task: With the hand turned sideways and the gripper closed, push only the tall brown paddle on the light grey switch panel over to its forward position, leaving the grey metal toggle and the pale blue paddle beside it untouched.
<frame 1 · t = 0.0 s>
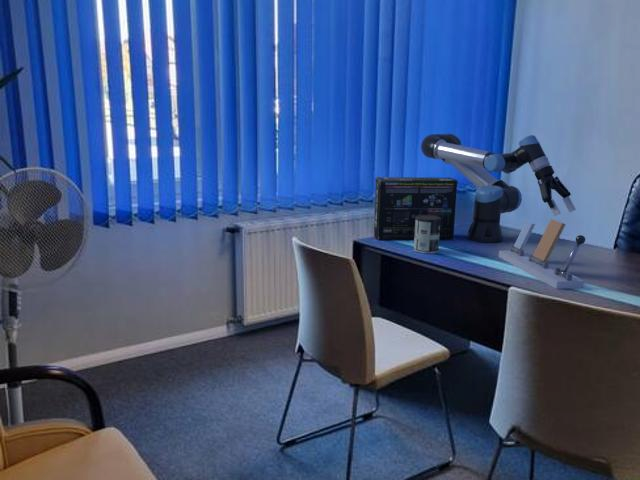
hand: (565, 212, 234), 15 cm above the table, tool tilted 35°, fingers open, 13 cm apart
pale blue paddle: (523, 237, 217), point 9 cm above the table, hinge at -22.0°
coffee can: (425, 250, 229), on the table
brown paddle: (547, 242, 202), point 11 cm above the table, hinge at -22.0°
router box: (412, 237, 250), on the table
grey metal toggle: (572, 255, 188), point 10 cm above the table, hinge at -22.0°
switch panel: (537, 270, 204), on the table
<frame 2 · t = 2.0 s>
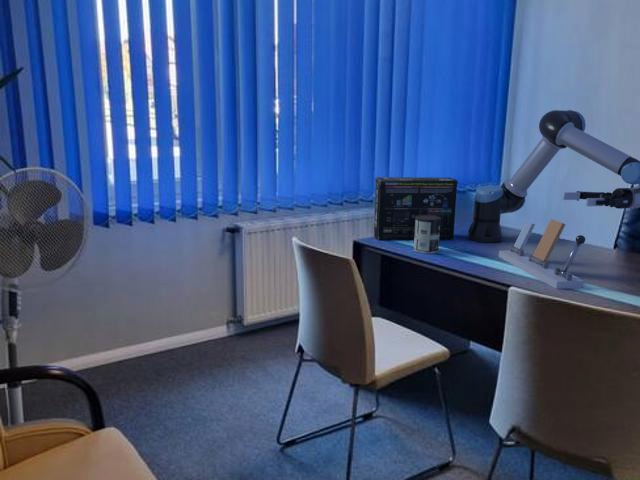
hand: (574, 199, 200), 27 cm above the table, tool horizontal, fingers open, 13 cm apart
nothing on the table moved.
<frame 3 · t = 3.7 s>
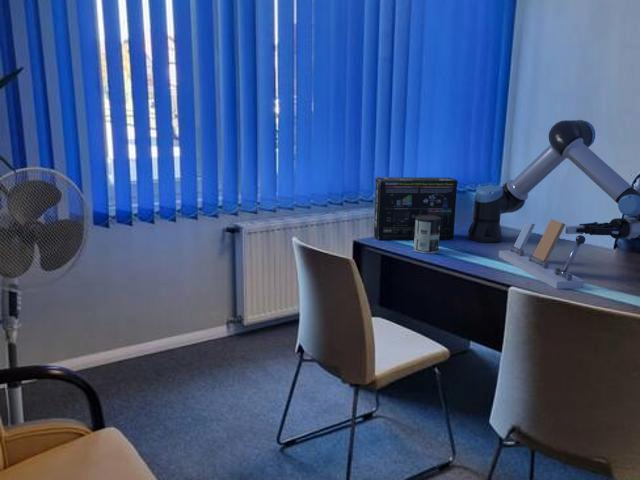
hand: (566, 229, 202), 15 cm above the table, tool horizontal, fingers closed
nothing on the table moved.
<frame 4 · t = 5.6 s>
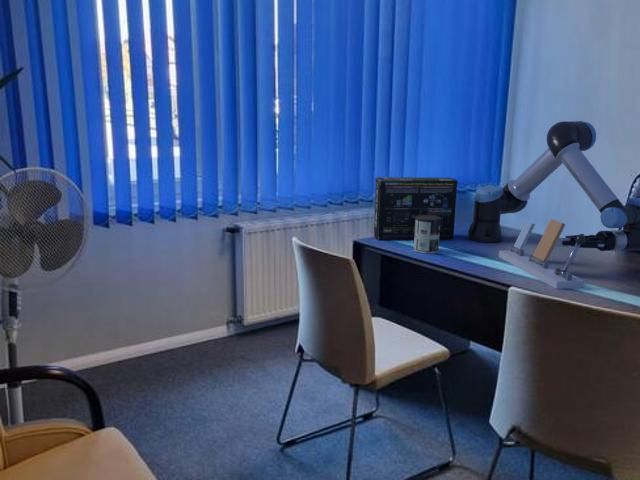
hand: (552, 242, 202), 11 cm above the table, tool horizontal, fingers closed
brown paddle: (547, 242, 202), point 11 cm above the table, hinge at -21.9°, touching gripper
everything else where it was.
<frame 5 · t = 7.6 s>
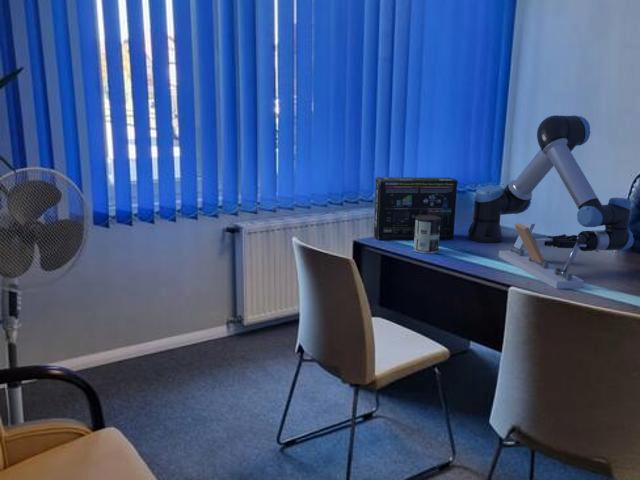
hand: (535, 242, 200), 11 cm above the table, tool horizontal, fingers closed
brown paddle: (530, 244, 201), point 10 cm above the table, hinge at 32.8°, touching gripper
everything else where it was.
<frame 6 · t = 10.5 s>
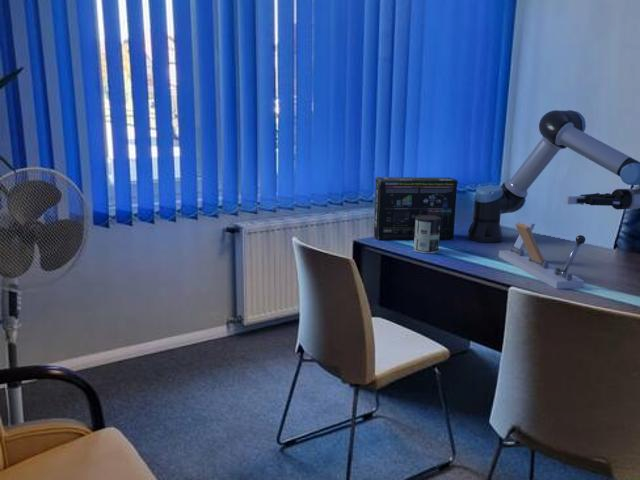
hand: (567, 200, 200), 26 cm above the table, tool horizontal, fingers closed
brown paddle: (530, 244, 201), point 10 cm above the table, hinge at 31.4°
everything else where it was.
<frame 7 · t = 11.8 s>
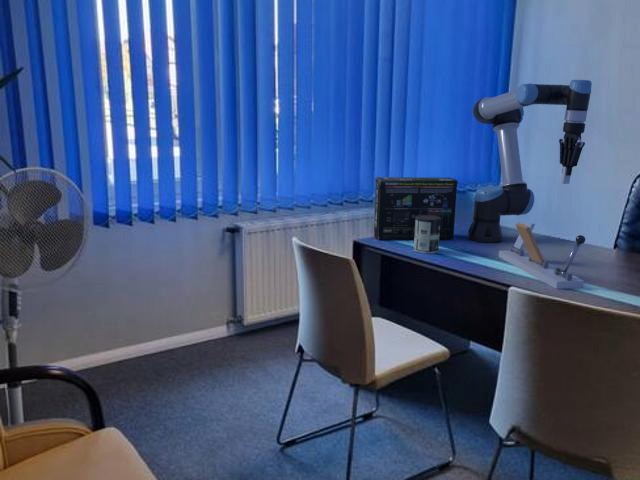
hand: (565, 183, 217), 30 cm above the table, tool pointing down, fingers closed
nothing on the table moved.
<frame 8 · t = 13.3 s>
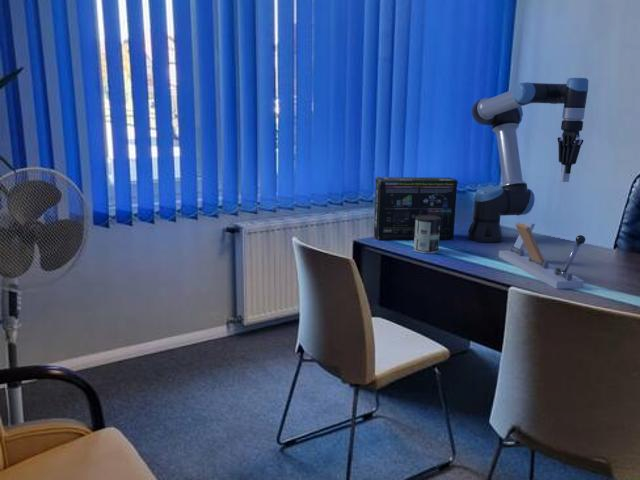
hand: (564, 181, 217), 30 cm above the table, tool pointing down, fingers closed
nothing on the table moved.
at the end: brown paddle at +31° (first picture: -22°); grey metal toggle at -22° (first picture: -22°); pale blue paddle at -22° (first picture: -22°) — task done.
